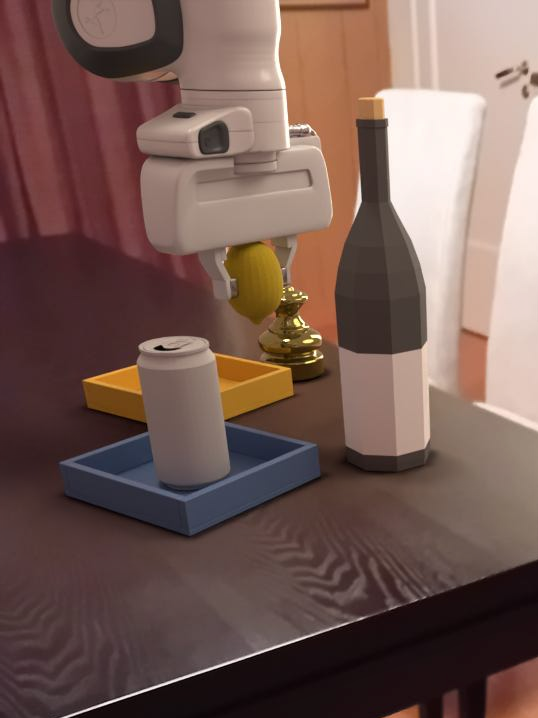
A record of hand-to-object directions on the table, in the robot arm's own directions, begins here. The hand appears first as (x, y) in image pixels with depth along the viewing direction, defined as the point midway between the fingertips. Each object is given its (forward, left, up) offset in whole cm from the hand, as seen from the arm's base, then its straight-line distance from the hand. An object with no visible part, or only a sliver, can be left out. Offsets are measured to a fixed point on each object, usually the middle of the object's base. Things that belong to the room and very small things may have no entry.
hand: (253, 292), depth 94 cm
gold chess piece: (-13, +17, -14) cm, 25 cm away
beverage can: (+4, -14, -13) cm, 20 cm away
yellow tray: (-15, +3, -14) cm, 20 cm away
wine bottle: (+14, +1, -14) cm, 20 cm away
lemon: (0, 0, -3) cm, 3 cm away
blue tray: (+4, -14, -14) cm, 20 cm away
